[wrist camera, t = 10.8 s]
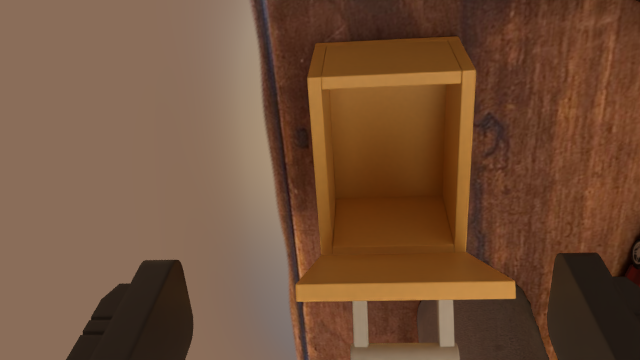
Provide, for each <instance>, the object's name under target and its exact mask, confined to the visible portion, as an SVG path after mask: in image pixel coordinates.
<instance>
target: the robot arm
mask: <svg viewBox="0 0 640 360" xmlns="http://www.w3.org/2000/svg"><path fill="white" fill-rule="evenodd" d="M547 322H548V331H549V336H550V340H551V343H552V345H553V348H554V350H555V353H556V355H557V358H558V360H640V287H639V286H638V285H636V284H635V283H634V282H632V281H631V280H630V279H628V278H627V277H612V276H611V274H610V272H609V271H608V269H607V267H606V265H605V264H604V262H603V260H602V259H601V257H600V256H599V255H598V254H597V253H559V254H557V256H556V258H555V263H554V269H553V276H552V283H551V290H550V297H549V304H548V312H547ZM192 335H193V314H192V309H191V305H190V300H189V295H188V291H187V286H186V281H185V277H184V272H183V268H182V265H181V262H180V261H179V260H145V261H143V262H142V263H141V265H140V267H139V269H138V270H137V272H136V274H135V276H134V278H133V280H132V282H131V284H119V285H118V286H117V287H115V288H114V289H113V290H112V291H111V292H110V293H108V294H107V295H106V296H105V297H104V298H102V299H101V301H100V303H99V305H98V306H97V308H96V310H95V311H94V313H93V315H92V317H91V320H89V322H88V323H87V325H86V327H85V328H84V330H83V335H80V337H79V339H78V341H77V342H76V344H75V345H74V347H73V349H72V351H71V352H70V354H69V356H68V357H67V359H66V360H185V358H186V355H187V353H188V349H189V347H190V344H191V340H192Z"/></svg>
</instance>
